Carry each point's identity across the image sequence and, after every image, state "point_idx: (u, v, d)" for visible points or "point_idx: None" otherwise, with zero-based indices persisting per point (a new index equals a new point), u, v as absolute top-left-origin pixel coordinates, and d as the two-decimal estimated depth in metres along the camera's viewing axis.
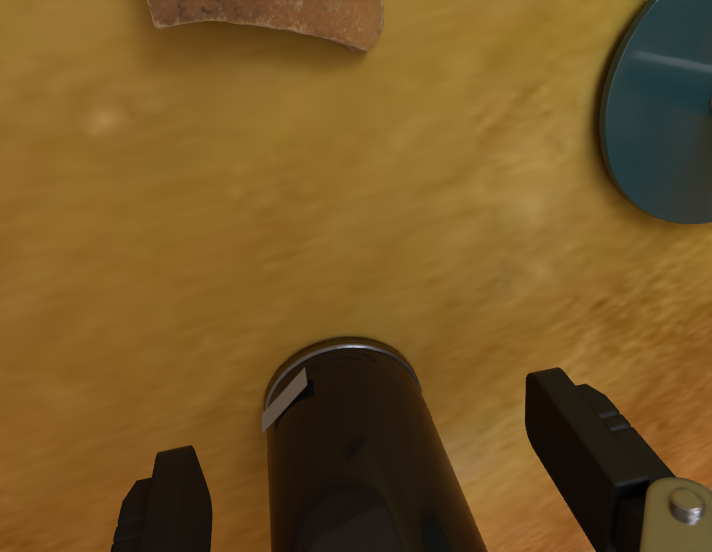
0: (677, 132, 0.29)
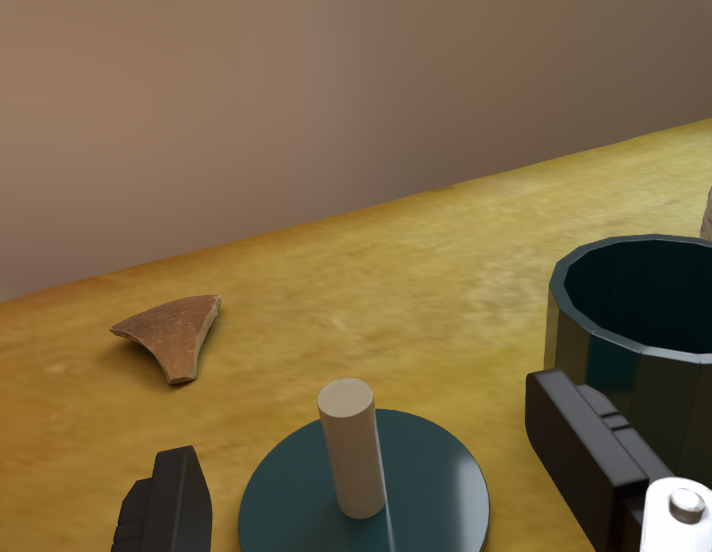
0: (303, 502, 0.32)
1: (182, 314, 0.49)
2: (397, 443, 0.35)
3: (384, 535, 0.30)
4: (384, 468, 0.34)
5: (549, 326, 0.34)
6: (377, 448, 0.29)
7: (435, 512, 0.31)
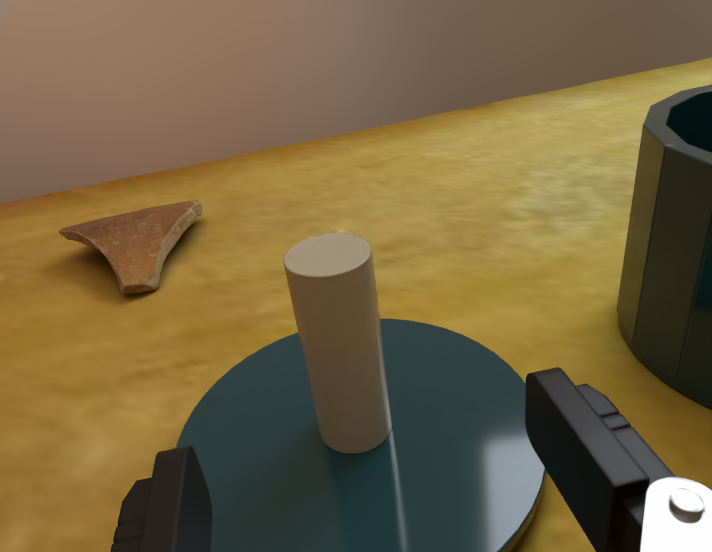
0: (271, 429, 0.22)
1: (150, 216, 0.39)
2: (411, 359, 0.25)
3: (385, 477, 0.20)
4: (390, 389, 0.23)
5: (640, 191, 0.23)
6: (377, 342, 0.19)
7: (464, 448, 0.20)
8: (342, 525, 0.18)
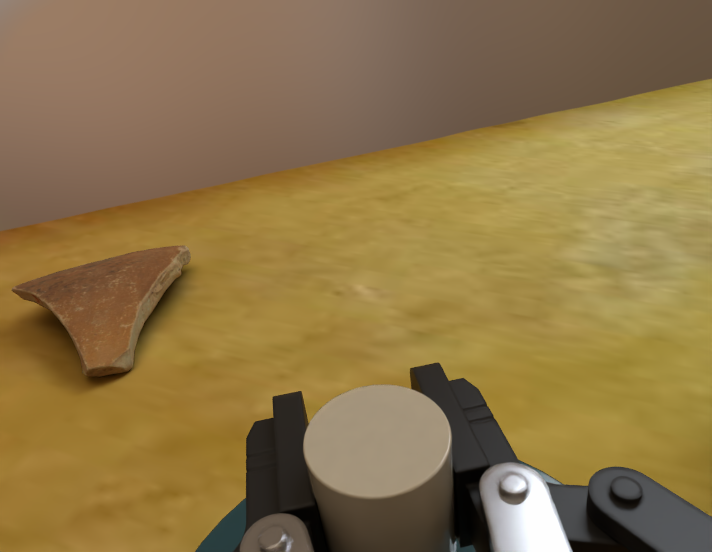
0: None
1: (124, 270, 0.32)
2: None
3: None
4: None
5: None
6: None
7: None
8: None
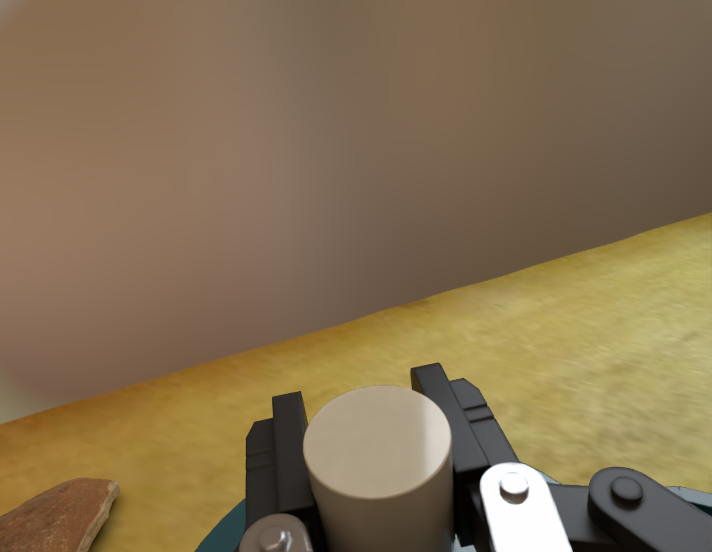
0: None
1: (59, 521, 0.38)
2: None
3: None
4: None
5: None
6: None
7: None
8: None
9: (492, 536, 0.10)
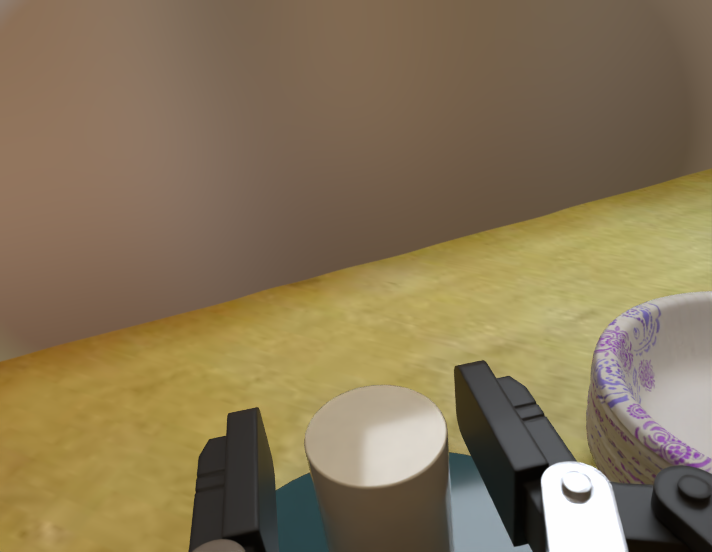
0: None
1: None
2: (476, 524, 0.18)
3: None
4: None
5: None
6: None
7: None
8: None
9: (559, 535, 0.09)
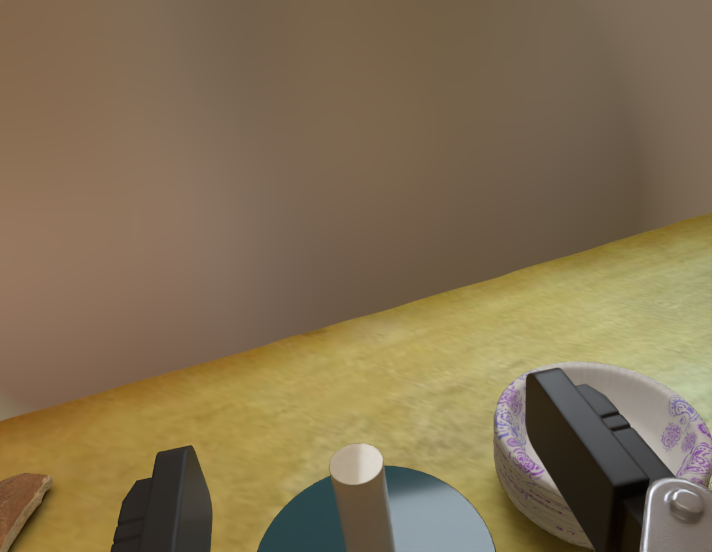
0: None
1: (2, 505, 0.50)
2: (409, 503, 0.36)
3: None
4: (395, 529, 0.34)
5: None
6: (387, 513, 0.30)
7: None
8: None
9: None
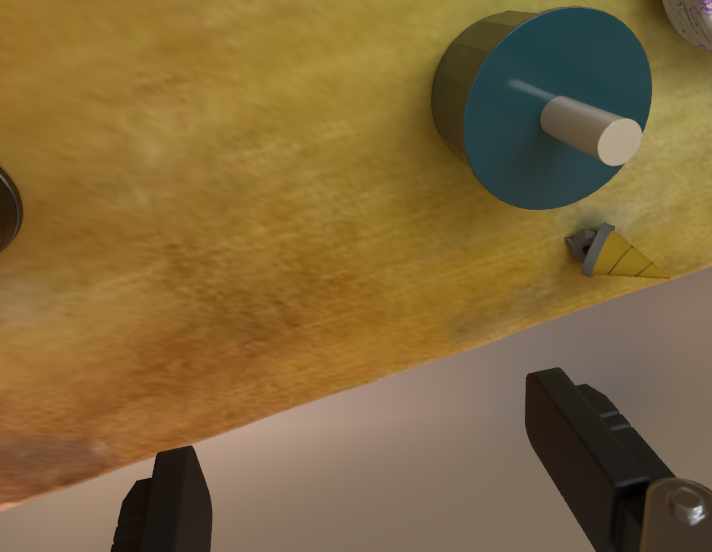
0: (515, 113, 0.40)
1: None
2: (602, 62, 0.39)
3: (564, 151, 0.42)
4: (583, 89, 0.40)
5: (460, 95, 0.42)
6: None
7: None
8: (541, 174, 0.42)
9: None
